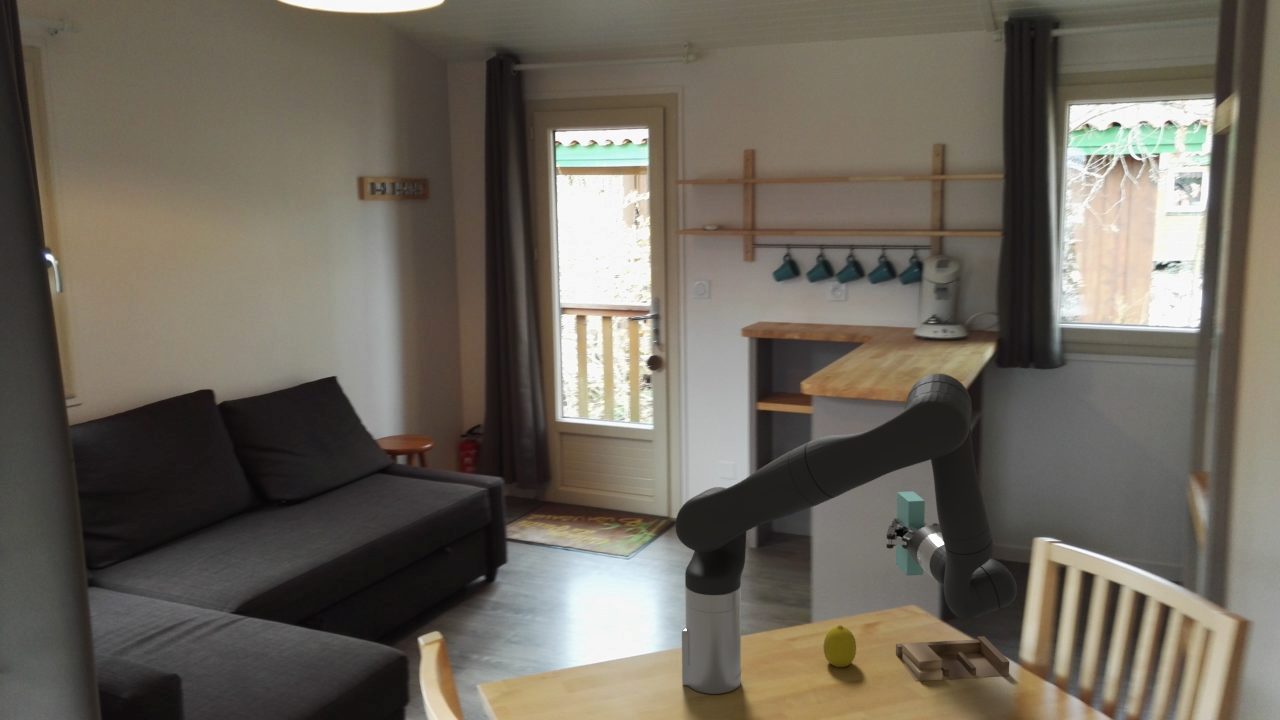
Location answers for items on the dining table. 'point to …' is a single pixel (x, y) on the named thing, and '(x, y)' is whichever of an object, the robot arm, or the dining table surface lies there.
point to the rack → (966, 659)
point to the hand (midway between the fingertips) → (904, 523)
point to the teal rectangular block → (913, 515)
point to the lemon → (839, 646)
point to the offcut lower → (923, 671)
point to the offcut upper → (922, 655)
